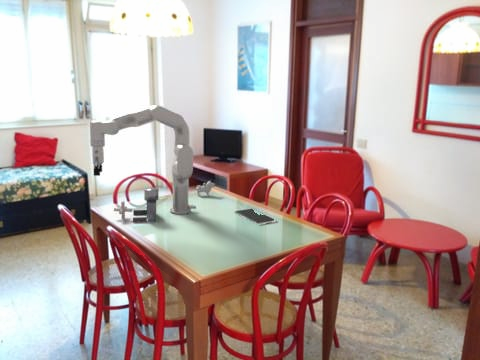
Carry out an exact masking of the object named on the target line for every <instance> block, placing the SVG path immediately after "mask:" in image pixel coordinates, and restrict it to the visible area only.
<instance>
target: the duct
mask: <svg viewBox="0 0 480 360" xmlns="http://www.w3.org/2000/svg"><path fill="white" fill-rule="evenodd" d="M143 190H144V191H143V194H144V195H143V196H144V197H143V198H144V201H146V210H147V214H146V217H147V222H146V223H157V201H159V199H160V197H159V195H160V193H159V191H160V190H159V188H157V187H146V188H144V189H143Z"/></svg>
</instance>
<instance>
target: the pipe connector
mask: <svg viewBox="0 0 480 360" xmlns="http://www.w3.org/2000/svg"><path fill="white" fill-rule="evenodd" d="M125 204H126V203H125V201H124V200H122V201H121V202H120V207H121V208H118V207H115V208H113V212H118V214H119V215H121V219H122V220H125V219H126V215H125V214H126V212H128V213H133V209H132V208H128V206H127V205H125Z"/></svg>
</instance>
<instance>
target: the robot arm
mask: <svg viewBox="0 0 480 360" xmlns="http://www.w3.org/2000/svg"><path fill="white" fill-rule="evenodd" d="M153 122H158V123H160V124H163V125H165V126H166V127H169V128H172V129H173V131H174V132H173V133H174V148H173V149H174V150H173V152H174V155H175V157H176V161H175V162H174V163H172V165H171V173H172V175H171V176H172V207H171V208H170V209H169V212H170V213H171V214H174V215H186V214H190V213H191V212H192V210H195V209H196V210H197V205H194V204H191V205H190V204H189V187H190V186H189V185H190V184H189V183H190V180H189V179H190V178H191V177H192V175H193V171H194V158H195V157H194V155H195V154H194V151H193V148H192V147H191V146H190V129H189V126H188V123H187V122H186V120H185V119H184V117H183V116H182V115H181V114H179V113H176V112H174V111H172V110H169V109H168V108H166V107H164V106H161V105H157V104H154V105H150V106H147V107H144V108H141V109H139V110H135V111H132V112H129V113H126V114H123V115H120V116H117V117H114V118H110V119H108V120H106V121H103V120H91V121H90V123H89V127H90V128H89V129H90V130H89V131H90V132H89V133H90V135H89V136H90V147H92V164H93V176H96V177H98V176H101V173H102V172H103V164H104V161H105V155H104V147H105V146H106V140H105V139H106V138H105V136H106V135H110V136H114V135H117V134H119V132H120V131H122V130H124V129H128V128H138V127H141V126H143V125H147V124H150V123H153Z"/></svg>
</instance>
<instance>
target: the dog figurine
mask: <svg viewBox="0 0 480 360" xmlns="http://www.w3.org/2000/svg"><path fill="white" fill-rule="evenodd" d="M214 187H215V183H213V182H211V180H208V181H207V183H206V182H203V183H202V185H200V184H199V185H196V188H195V191H196V195H197V194H198V195H197V197H198V196H200V194H201V193H205V194H206V197H207V196H209V197H210V192H211V190H212V188H214Z"/></svg>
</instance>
